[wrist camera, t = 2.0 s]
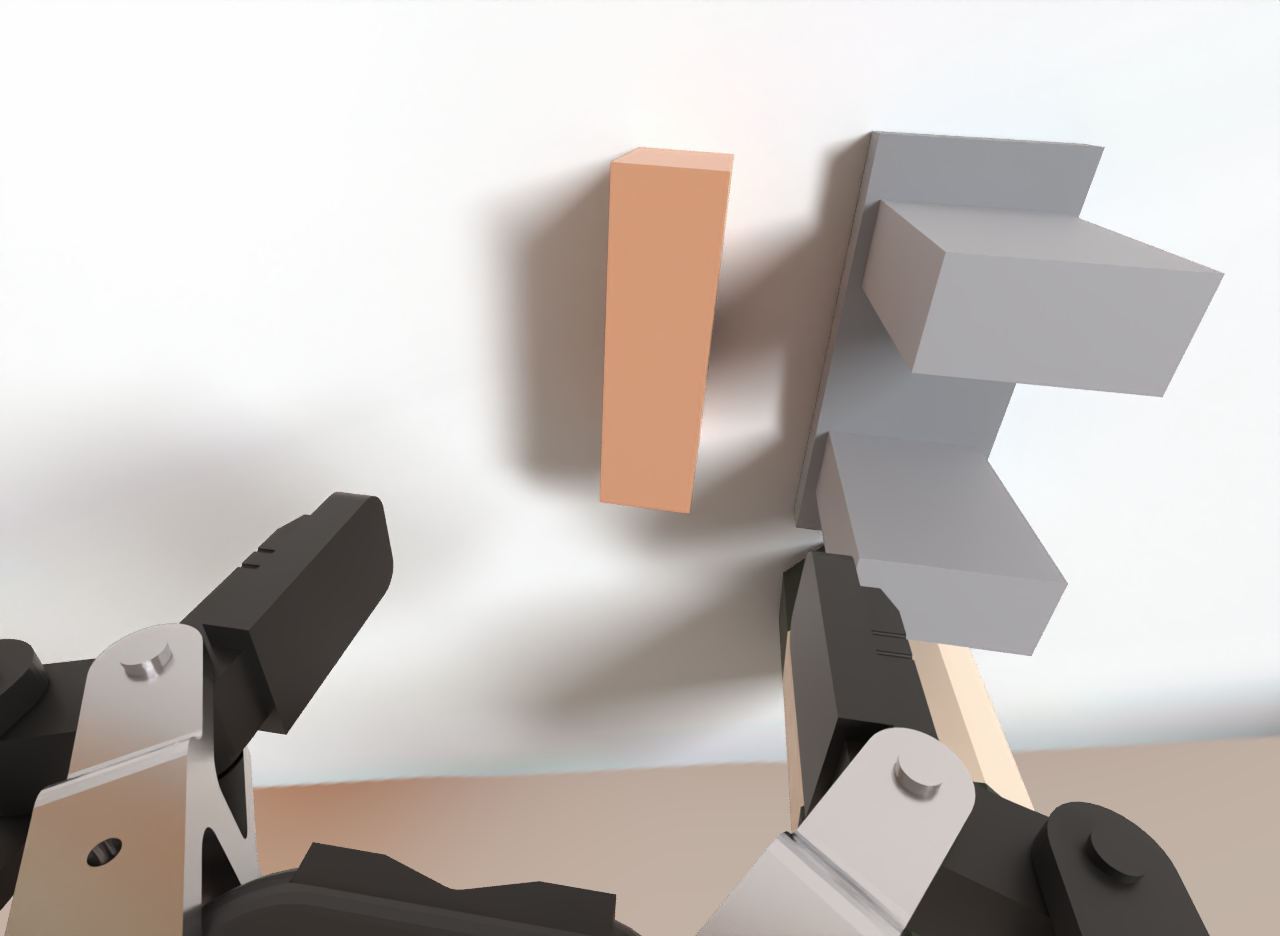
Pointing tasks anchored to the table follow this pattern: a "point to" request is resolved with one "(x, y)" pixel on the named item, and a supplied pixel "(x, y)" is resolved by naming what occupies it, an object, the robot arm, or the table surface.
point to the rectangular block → (660, 320)
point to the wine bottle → (951, 701)
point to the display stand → (973, 368)
